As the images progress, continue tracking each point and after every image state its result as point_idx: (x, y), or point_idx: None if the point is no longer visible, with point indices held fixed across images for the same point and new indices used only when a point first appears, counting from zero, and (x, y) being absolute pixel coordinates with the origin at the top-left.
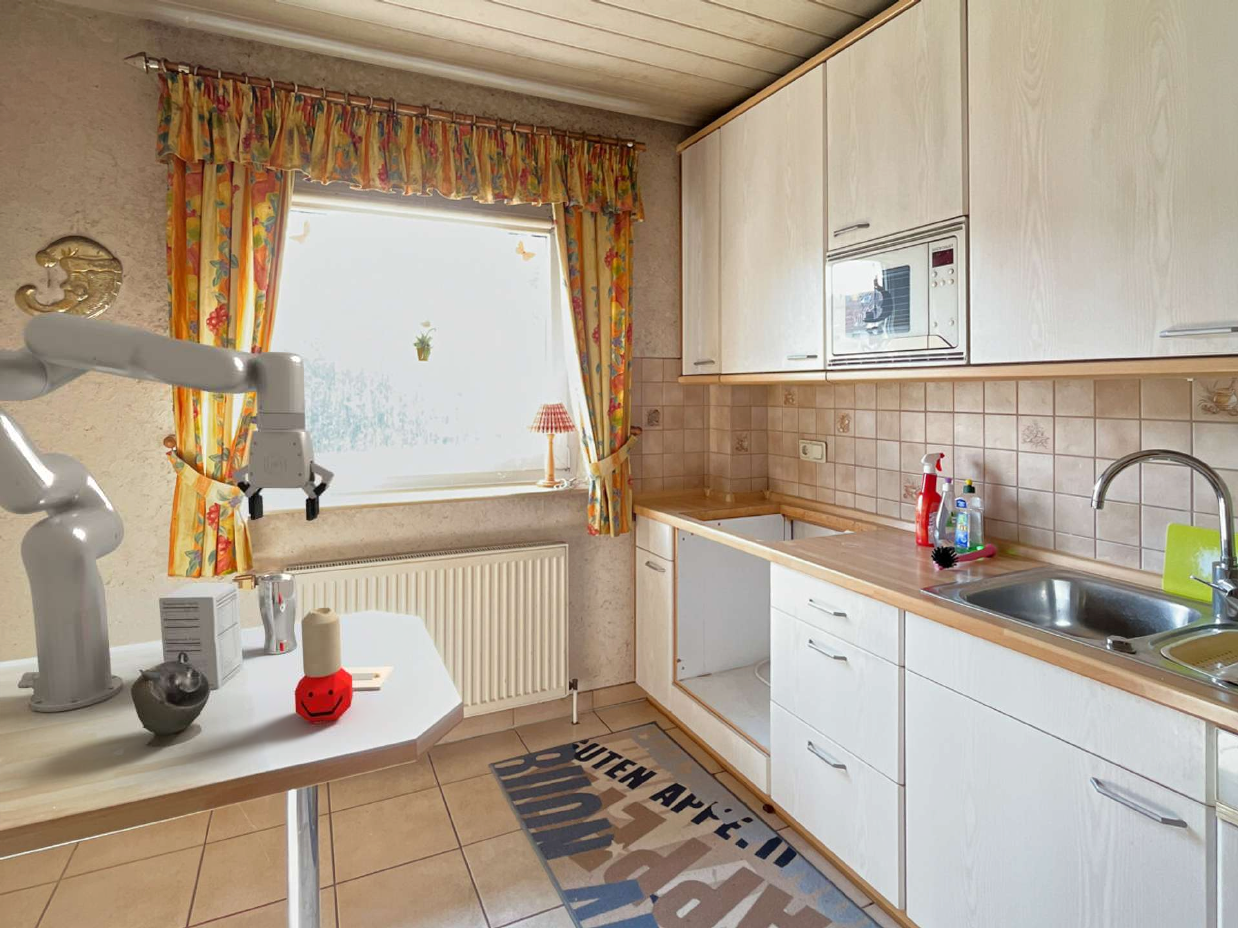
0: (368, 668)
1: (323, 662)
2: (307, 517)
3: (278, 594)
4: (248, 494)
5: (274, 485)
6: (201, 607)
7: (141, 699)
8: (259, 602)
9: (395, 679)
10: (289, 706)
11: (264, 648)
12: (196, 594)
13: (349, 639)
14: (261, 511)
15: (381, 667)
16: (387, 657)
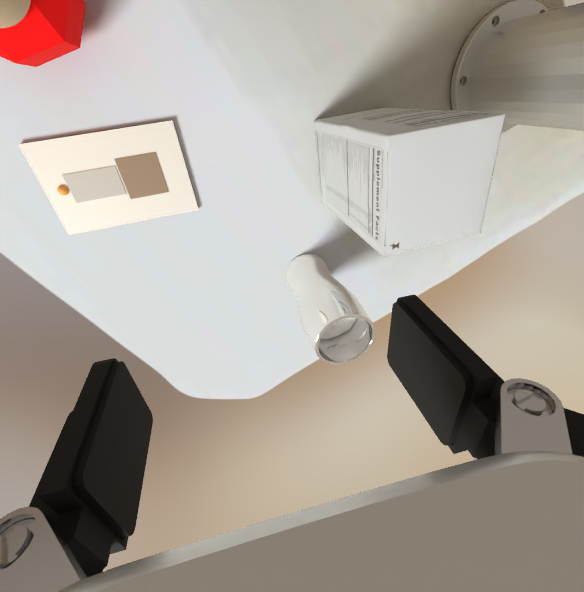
0: (109, 220)
1: None
2: (103, 368)
3: (321, 305)
4: (527, 400)
5: (339, 530)
6: (400, 126)
7: None
8: (352, 294)
9: (30, 192)
10: (142, 50)
11: (322, 260)
12: (433, 149)
13: (227, 319)
14: (401, 370)
15: (88, 227)
16: (119, 273)
